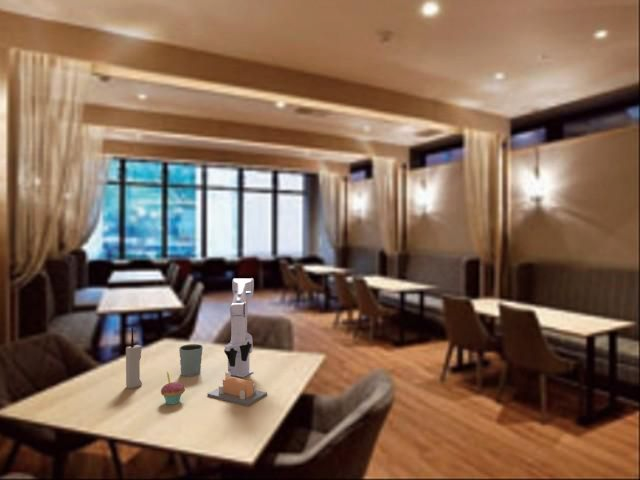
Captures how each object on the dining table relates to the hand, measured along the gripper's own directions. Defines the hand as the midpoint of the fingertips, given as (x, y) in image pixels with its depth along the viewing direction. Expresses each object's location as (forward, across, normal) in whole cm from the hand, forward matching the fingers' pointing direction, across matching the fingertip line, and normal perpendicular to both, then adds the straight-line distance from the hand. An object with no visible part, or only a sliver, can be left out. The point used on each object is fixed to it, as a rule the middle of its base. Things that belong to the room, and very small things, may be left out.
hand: (238, 363), depth 169 cm
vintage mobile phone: (+10, -21, +38) cm, 44 cm away
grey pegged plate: (+9, -8, -6) cm, 14 cm away
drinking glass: (+10, +2, +29) cm, 31 cm away
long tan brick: (+8, -8, -6) cm, 13 cm away
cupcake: (+10, -24, +12) cm, 28 cm away
